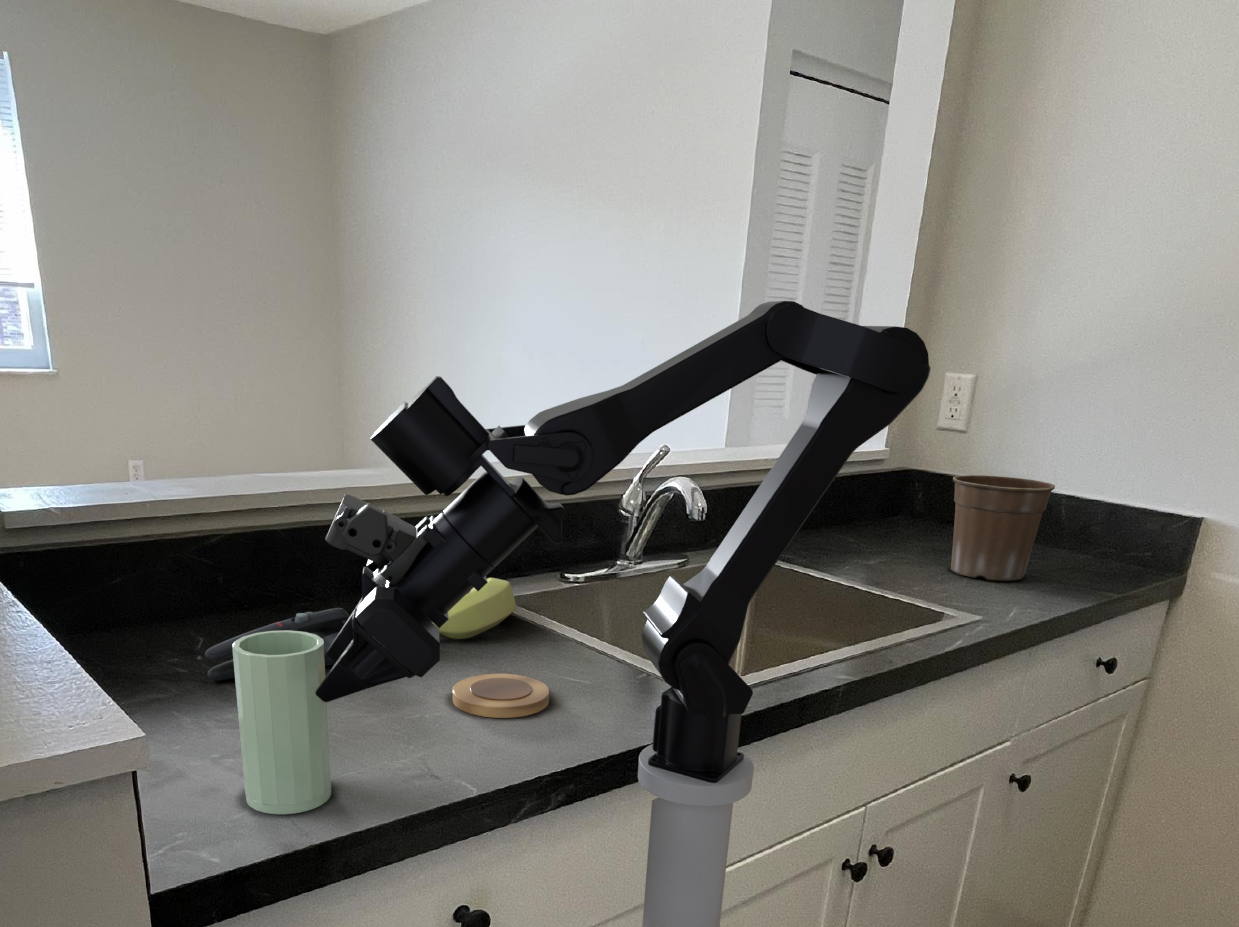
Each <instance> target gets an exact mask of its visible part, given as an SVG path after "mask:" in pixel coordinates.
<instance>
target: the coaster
mask: <svg viewBox="0 0 1239 927" xmlns="http://www.w3.org/2000/svg"><path fill="white" fill-rule="evenodd" d="M452 703H453V705H454V706H455V707H456V708H457V709H459V710H461V711H462V712H465V713H467V714H471V715H473V716H477V717H485V718H492V719H512V718H513V719H514V718H522V717H526V716H531V715H535V714H538V713H539V712H541V711H543V710H545V709H546V708H547V707H548V706H549V703H550V688H549V687H548V685H546V684H545V683H544V682H542V681H540V680H538V679H537V678H533V677H530V676H525V675H520V674H514V673H512V674H511V673H486V674H479V675H478V674H477V675H474V676H473V675H472V676H469V677H466V678H463V679H461V680H459V681H457V682H456V683H455V684H454V686H453V687H452Z"/></svg>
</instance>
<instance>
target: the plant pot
mask: <svg viewBox="0 0 1239 927" xmlns="http://www.w3.org/2000/svg"><path fill="white" fill-rule="evenodd" d="M952 481H953V482H954V496H953V502H954V503H955V509H954V510H955V511H954V520H953V521H954V522H953V523H954V524H953V525H954V526H953V536H952V550H951V561H950V570H951V571H952V572H954V573H955V574H957V575H960V576H963V577H967V578H968V577H969V578H972V579H977V578H979V577H981V578H985V580H987V581H997V582H998V581H999V582H1013V581H1019V580H1022V579H1023V578H1024V577H1025V575H1026V571H1027V568H1028V564H1029V561H1030V558H1031V554H1032V550H1033V547H1034V543H1035V540H1036V536H1037V533H1038V530H1039V527H1040V524H1041V519H1042V516H1043V514H1044V511H1045V510H1046V509H1047V506H1048V503H1049V500H1050V497H1051V494H1052V491H1054V490H1055V488H1056V485H1055V484H1052V483H1050V482H1045V481H1042V480H1035V479H1029V478H1021V477H1011V476H1001V475H1000V476H999V475H983V474H981V475H980V474H977V475H976V474H968V475H967V474H966V475H955V476H953V477H952Z"/></svg>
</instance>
